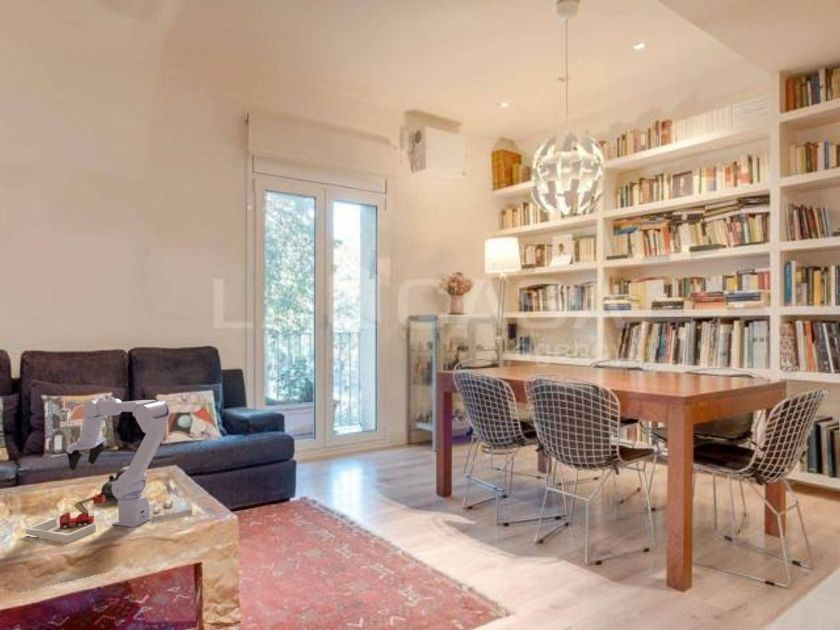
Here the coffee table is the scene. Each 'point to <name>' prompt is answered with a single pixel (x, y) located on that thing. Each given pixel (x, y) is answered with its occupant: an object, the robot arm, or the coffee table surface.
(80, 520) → the toy fire truck
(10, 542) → the coffee table surface
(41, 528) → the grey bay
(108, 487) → the dark grey lumpy shape
